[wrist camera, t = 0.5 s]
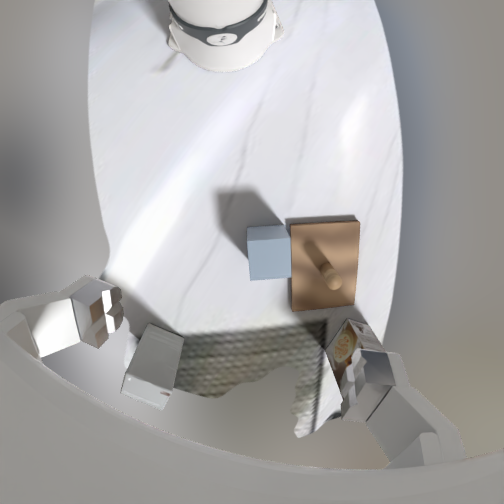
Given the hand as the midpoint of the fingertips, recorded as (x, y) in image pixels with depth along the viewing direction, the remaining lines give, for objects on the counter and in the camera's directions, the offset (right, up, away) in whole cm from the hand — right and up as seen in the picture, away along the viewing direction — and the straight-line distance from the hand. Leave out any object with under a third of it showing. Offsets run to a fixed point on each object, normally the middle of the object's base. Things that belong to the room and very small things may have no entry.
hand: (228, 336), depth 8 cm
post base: (+14, 0, +39) cm, 41 cm away
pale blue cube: (+3, +4, +38) cm, 38 cm away
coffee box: (+21, -15, +45) cm, 52 cm away
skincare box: (-17, -15, +44) cm, 50 cm away
